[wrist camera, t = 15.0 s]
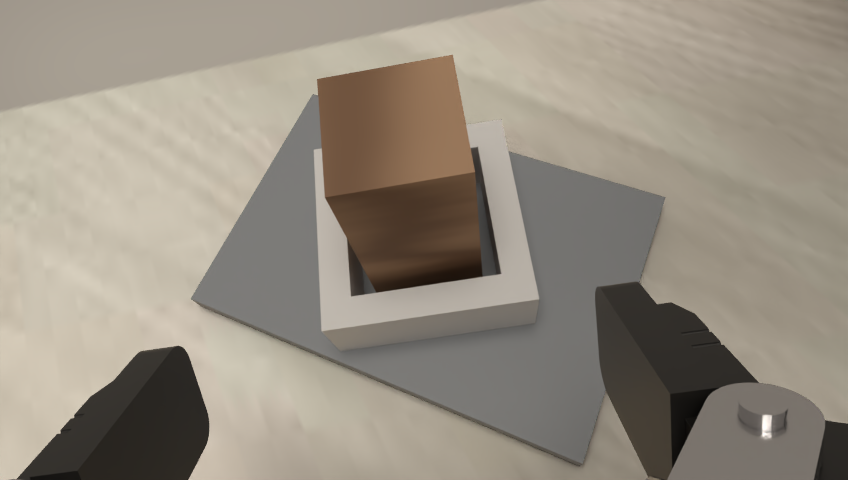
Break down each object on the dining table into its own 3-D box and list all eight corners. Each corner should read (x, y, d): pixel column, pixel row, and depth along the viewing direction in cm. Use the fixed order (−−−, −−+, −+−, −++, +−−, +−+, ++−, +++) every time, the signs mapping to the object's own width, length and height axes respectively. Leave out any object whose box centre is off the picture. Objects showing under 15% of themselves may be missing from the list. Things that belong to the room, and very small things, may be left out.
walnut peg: (467, 198, 28) (452, 54, 19) (483, 287, 26) (475, 171, 17) (373, 214, 28) (317, 79, 19) (382, 303, 26) (324, 197, 18)
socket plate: (660, 207, 28) (683, 161, 24) (579, 466, 23) (594, 456, 20) (317, 106, 32) (295, 53, 29) (200, 306, 28) (156, 274, 25)
